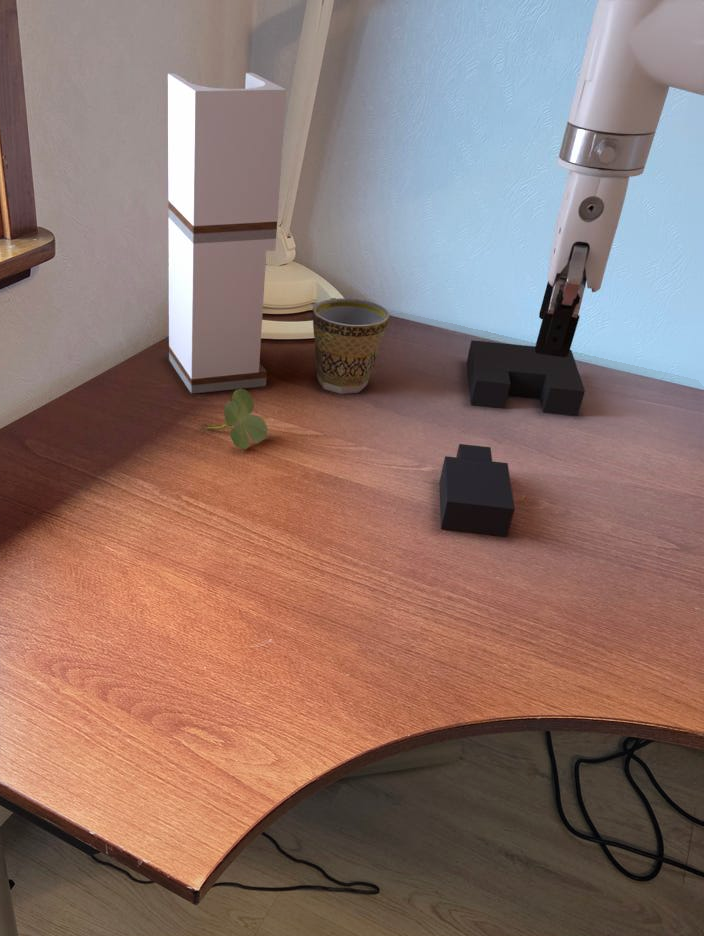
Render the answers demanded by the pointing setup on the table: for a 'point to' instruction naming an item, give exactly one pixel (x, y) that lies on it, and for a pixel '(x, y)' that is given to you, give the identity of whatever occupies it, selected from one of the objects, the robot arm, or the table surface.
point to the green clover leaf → (243, 420)
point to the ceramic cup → (347, 342)
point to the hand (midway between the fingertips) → (552, 336)
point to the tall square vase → (221, 227)
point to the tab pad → (475, 493)
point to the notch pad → (523, 377)
